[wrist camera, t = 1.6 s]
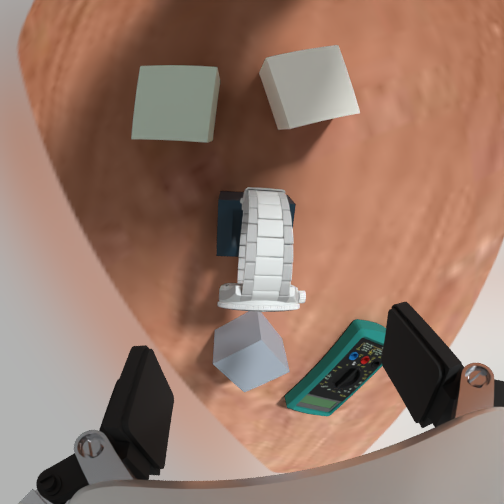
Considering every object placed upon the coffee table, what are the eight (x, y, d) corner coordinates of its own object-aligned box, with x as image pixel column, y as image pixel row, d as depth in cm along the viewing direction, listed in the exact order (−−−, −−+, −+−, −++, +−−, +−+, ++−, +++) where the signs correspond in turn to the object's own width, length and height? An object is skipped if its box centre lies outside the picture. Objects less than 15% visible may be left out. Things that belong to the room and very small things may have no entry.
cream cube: (258, 73, 19) (266, 57, 15) (317, 60, 19) (338, 45, 15) (277, 129, 21) (290, 128, 17) (335, 115, 21) (360, 112, 17)
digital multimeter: (396, 330, 31) (406, 345, 29) (323, 405, 36) (328, 420, 33) (356, 311, 29) (366, 327, 27) (281, 394, 34) (284, 412, 31)
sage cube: (158, 78, 19) (140, 66, 14) (220, 80, 20) (217, 66, 15) (151, 137, 21) (131, 139, 16) (212, 140, 21) (207, 142, 17)
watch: (217, 261, 25) (210, 345, 15) (221, 169, 22) (212, 200, 12) (280, 264, 26) (309, 346, 16) (290, 174, 23) (337, 208, 13)
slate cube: (214, 329, 28) (212, 363, 24) (256, 306, 28) (261, 339, 23) (242, 358, 30) (244, 392, 26) (281, 338, 30) (289, 371, 25)
